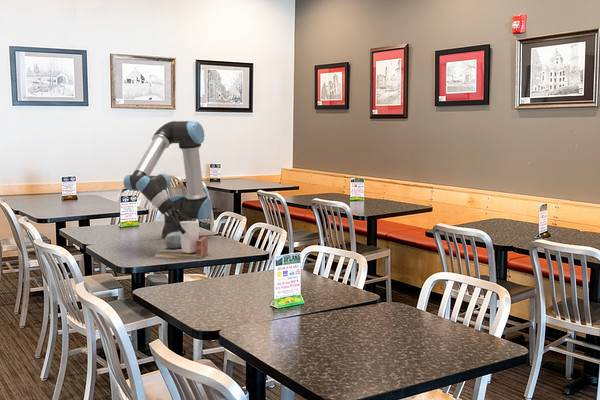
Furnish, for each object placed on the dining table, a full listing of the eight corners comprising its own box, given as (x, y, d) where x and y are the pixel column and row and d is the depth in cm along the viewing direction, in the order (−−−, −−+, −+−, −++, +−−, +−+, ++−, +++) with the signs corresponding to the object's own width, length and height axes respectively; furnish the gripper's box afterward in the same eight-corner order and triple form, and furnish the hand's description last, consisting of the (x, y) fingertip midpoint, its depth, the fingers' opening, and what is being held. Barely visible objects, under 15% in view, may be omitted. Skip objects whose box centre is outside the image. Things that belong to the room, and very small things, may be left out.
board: (163, 252, 317) (163, 235, 316) (207, 253, 314) (207, 236, 313) (155, 257, 305) (154, 239, 304) (200, 258, 302) (200, 241, 301)
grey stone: (190, 238, 339) (187, 223, 333) (195, 249, 332) (192, 234, 326) (164, 246, 335) (161, 231, 329) (169, 257, 328) (166, 242, 322)
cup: (200, 252, 309) (200, 221, 308) (188, 254, 304) (187, 222, 303) (191, 251, 314) (190, 220, 313) (178, 253, 309) (178, 221, 308)
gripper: (166, 205, 321) (196, 236, 321) (148, 212, 296) (180, 245, 296) (176, 195, 320) (207, 226, 319) (159, 200, 295) (192, 234, 295)
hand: (194, 235), depth 308 cm, fingers open, 13 cm apart
